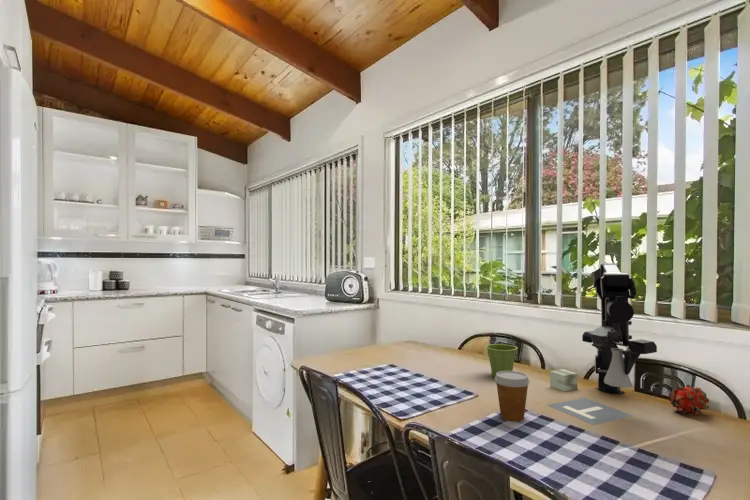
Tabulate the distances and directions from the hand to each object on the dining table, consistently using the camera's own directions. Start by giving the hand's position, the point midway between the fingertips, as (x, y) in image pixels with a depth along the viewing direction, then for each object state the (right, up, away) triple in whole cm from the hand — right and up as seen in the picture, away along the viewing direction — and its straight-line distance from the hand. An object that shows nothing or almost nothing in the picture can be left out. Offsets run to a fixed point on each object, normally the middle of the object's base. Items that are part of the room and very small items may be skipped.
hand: (617, 371), depth 115 cm
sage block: (-4, -13, +24) cm, 28 cm away
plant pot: (-20, -14, +40) cm, 47 cm away
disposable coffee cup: (-30, -13, 0) cm, 33 cm away
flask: (0, -4, 0) cm, 4 cm away
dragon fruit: (+22, -13, +3) cm, 26 cm away
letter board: (-6, -13, +4) cm, 15 cm away
